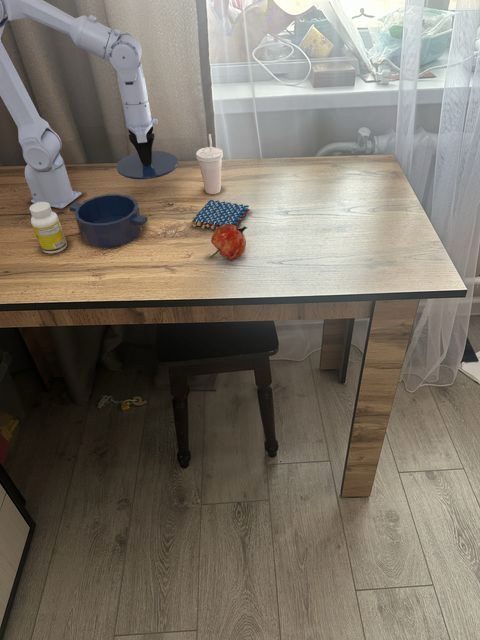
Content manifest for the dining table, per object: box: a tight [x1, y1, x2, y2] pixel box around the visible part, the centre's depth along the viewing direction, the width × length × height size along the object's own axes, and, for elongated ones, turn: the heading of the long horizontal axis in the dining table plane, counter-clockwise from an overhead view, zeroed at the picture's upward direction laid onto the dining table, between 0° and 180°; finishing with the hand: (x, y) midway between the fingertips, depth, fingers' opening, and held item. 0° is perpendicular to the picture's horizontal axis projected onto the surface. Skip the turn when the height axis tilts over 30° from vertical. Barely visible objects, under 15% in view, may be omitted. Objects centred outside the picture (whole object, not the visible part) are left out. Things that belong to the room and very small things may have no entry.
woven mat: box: [191, 199, 250, 230], centre depth 115 cm, size 10×11×2 cm
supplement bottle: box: [29, 202, 68, 254], centre depth 106 cm, size 5×5×10 cm
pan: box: [68, 193, 148, 248], centre depth 112 cm, size 13×19×6 cm
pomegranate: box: [209, 224, 248, 261], centre depth 103 cm, size 7×7×10 cm
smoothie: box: [195, 133, 224, 195], centre depth 121 cm, size 6×6×14 cm
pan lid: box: [116, 150, 179, 180], centre depth 119 cm, size 14×14×4 cm
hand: (146, 161), depth 119 cm, fingers closed on pan lid, 2 cm apart
